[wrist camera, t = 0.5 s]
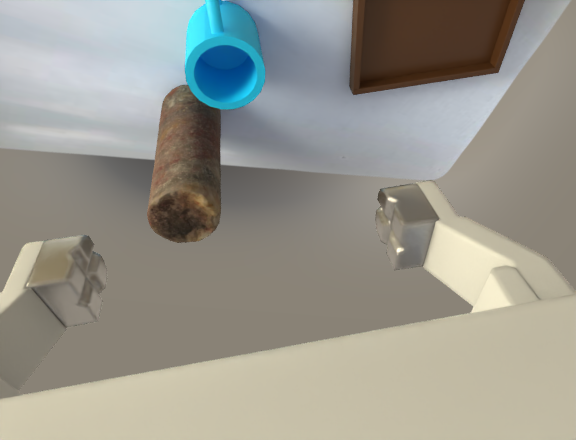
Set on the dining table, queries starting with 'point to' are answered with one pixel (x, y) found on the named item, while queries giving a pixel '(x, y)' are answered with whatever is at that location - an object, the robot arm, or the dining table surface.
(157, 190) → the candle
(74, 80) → the dining table surface
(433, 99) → the dining table surface
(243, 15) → the mug
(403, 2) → the serving tray
